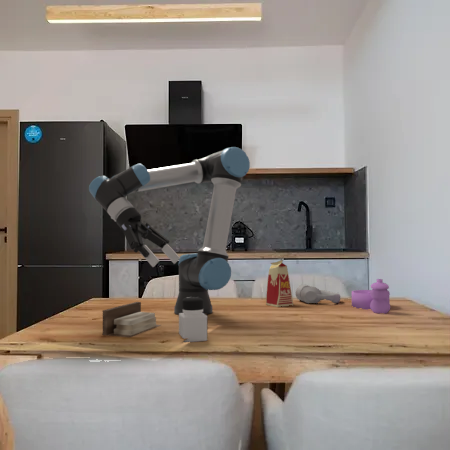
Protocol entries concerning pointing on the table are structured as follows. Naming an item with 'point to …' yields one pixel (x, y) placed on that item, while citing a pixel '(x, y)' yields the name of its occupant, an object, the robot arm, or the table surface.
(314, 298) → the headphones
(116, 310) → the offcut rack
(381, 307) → the container set
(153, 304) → the table surface
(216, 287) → the robot arm
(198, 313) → the medicine bottle
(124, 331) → the offcut stack
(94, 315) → the table surface
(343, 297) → the table surface
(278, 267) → the milk carton
